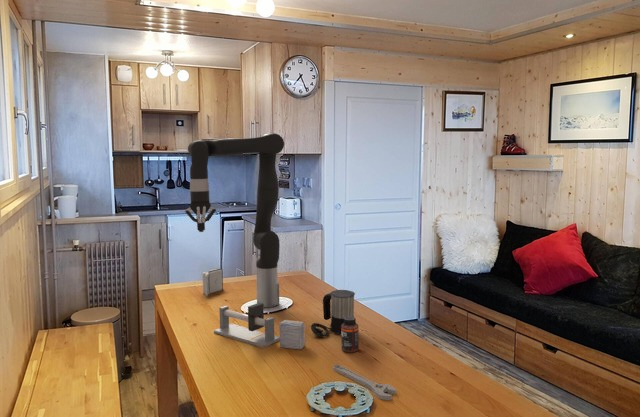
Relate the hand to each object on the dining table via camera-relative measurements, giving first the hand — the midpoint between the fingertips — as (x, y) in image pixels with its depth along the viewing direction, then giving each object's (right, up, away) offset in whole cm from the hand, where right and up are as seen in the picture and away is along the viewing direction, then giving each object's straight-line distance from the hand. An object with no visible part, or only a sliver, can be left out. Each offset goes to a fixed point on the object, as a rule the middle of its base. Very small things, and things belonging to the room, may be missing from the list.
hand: (201, 231), depth 211 cm
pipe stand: (+22, -38, -22) cm, 49 cm away
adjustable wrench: (+62, -43, -59) cm, 96 cm away
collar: (+26, -34, -26) cm, 50 cm away
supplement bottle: (+59, -39, -35) cm, 79 cm away
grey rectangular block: (-3, -31, +35) cm, 47 cm away
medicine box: (+39, -39, -32) cm, 64 cm away
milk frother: (+54, -37, -19) cm, 68 cm away
